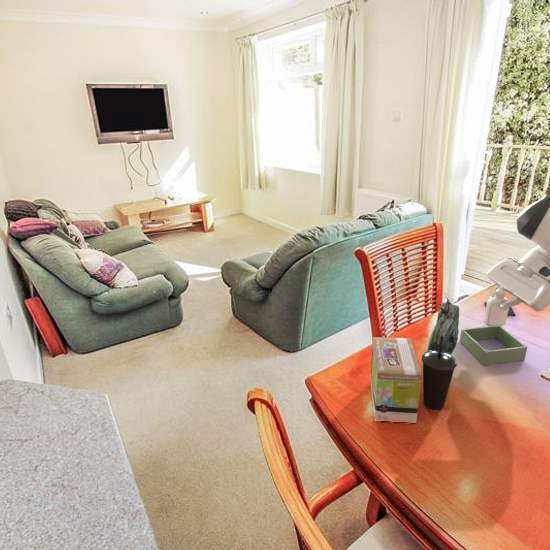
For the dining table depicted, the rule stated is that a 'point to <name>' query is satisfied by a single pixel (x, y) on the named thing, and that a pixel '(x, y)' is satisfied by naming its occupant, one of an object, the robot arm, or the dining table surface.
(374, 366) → the tea box
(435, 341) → the dark green backpack
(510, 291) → the robot arm
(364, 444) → the dining table surface
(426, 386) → the drinking cup
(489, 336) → the crate
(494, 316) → the eye dropper bottle
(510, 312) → the coaster
